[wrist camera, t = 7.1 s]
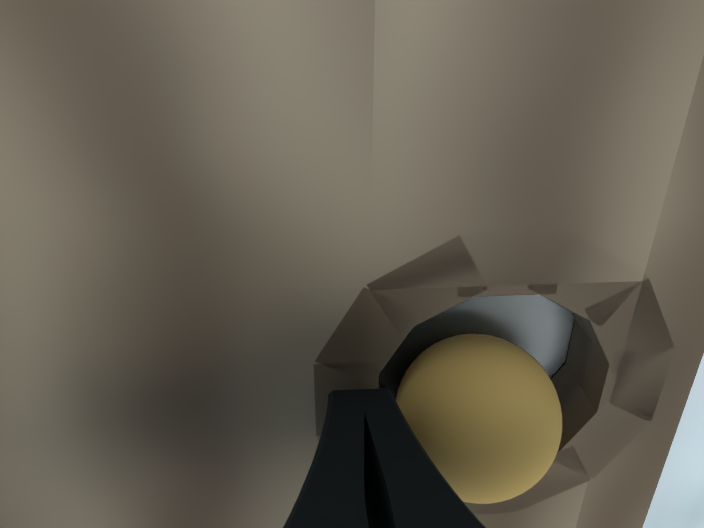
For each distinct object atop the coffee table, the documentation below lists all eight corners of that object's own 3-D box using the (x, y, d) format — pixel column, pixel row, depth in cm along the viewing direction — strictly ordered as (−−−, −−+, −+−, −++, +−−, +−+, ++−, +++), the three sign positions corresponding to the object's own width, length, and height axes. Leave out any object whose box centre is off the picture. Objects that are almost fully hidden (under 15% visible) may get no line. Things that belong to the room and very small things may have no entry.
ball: (579, 431, 15) (459, 346, 17) (613, 372, 12) (460, 275, 14) (490, 555, 14) (370, 447, 16) (502, 525, 11) (349, 395, 13)
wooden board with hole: (71, 582, 19) (47, 646, 17) (-146, -28, 11) (-237, -27, 9) (587, 551, 20) (614, 608, 18) (756, -27, 12) (836, -26, 10)
